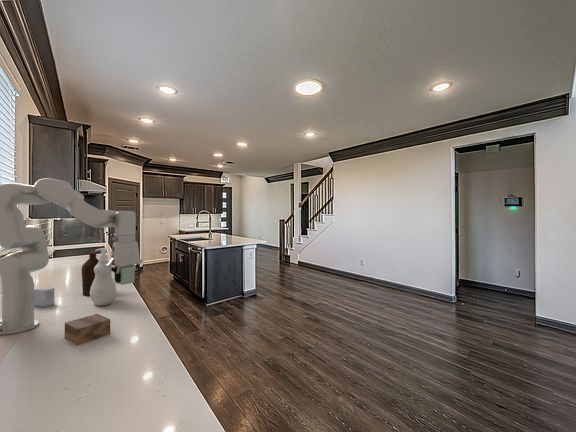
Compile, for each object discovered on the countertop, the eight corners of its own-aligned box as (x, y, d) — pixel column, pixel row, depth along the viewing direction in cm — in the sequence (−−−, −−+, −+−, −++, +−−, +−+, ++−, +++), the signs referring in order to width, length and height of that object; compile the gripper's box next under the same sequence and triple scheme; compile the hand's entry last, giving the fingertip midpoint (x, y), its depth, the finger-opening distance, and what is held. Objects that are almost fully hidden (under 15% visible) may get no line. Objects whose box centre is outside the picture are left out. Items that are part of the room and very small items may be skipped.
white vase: (86, 302, 144) (86, 247, 144) (111, 297, 153) (111, 246, 152) (93, 310, 133) (94, 251, 132) (120, 304, 141) (120, 248, 141)
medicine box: (54, 304, 140) (54, 287, 140) (46, 307, 136) (46, 290, 136) (41, 303, 141) (41, 287, 141) (32, 306, 137) (32, 289, 137)
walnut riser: (77, 345, 97) (77, 329, 97) (64, 338, 103) (64, 322, 103) (110, 334, 106) (110, 319, 106) (96, 327, 112) (97, 313, 112)
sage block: (122, 284, 113) (122, 268, 113) (115, 282, 116) (115, 266, 116) (134, 282, 117) (134, 266, 117) (127, 280, 120) (127, 264, 120)
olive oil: (107, 292, 162) (107, 251, 162) (89, 297, 152) (89, 253, 152) (95, 290, 166) (95, 250, 166) (77, 295, 156) (77, 252, 156)
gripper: (108, 241, 107) (107, 286, 107) (149, 238, 122) (148, 278, 122) (99, 240, 111) (98, 283, 111) (139, 237, 126) (139, 275, 126)
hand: (124, 280), depth 116 cm, fingers closed on sage block, 5 cm apart
